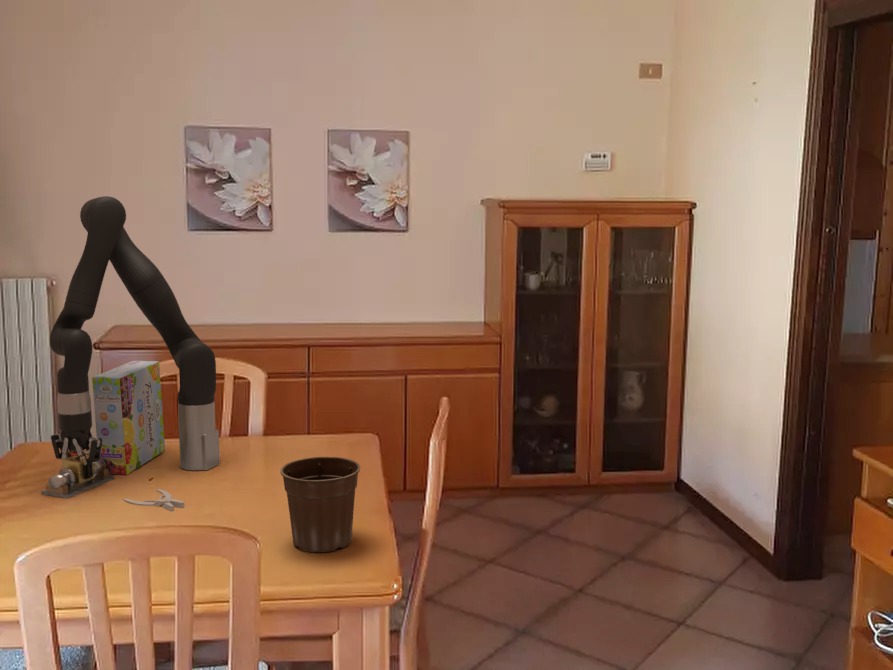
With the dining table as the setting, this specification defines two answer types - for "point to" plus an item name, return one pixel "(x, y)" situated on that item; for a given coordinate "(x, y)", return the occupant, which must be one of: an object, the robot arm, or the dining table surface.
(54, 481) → the flanged cylinder mounting plate
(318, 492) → the plant pot
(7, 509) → the dining table surface
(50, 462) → the dining table surface
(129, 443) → the snack box
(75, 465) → the push button
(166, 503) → the pliers
